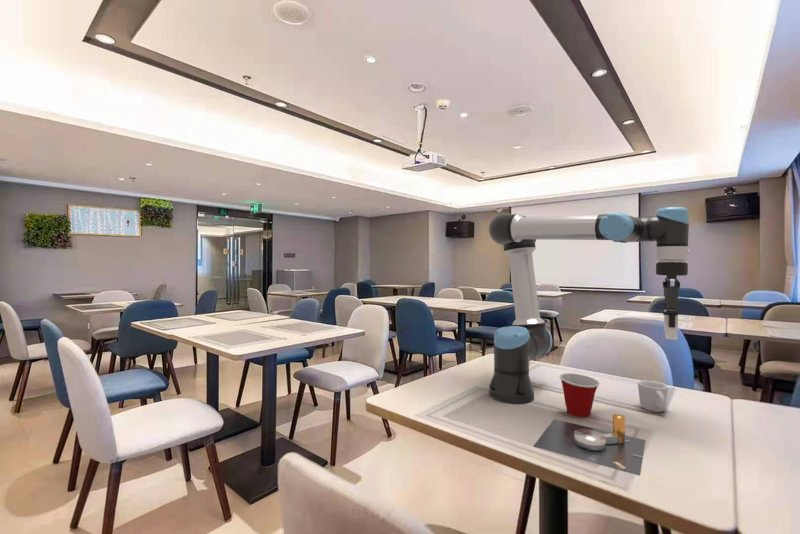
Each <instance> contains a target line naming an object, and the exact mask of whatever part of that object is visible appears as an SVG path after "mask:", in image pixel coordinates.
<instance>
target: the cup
mask: <svg viewBox="0 0 800 534" xmlns="http://www.w3.org/2000/svg"><path fill="white" fill-rule="evenodd" d="M637 387H638V389H637V390H638V396H639V397H638V398H639V405H640V407H641V408H642V409H644V410H645V411H649V412H654V413H660V412H663V411H665V410H666V407H667V399H668V392H669V386H668V385H667V384H666V383H662V382H659V381H657V380H656V381H655V380H645V379H644V380H638V382H637Z"/></svg>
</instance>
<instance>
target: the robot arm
mask: <svg viewBox="0 0 800 534" xmlns="http://www.w3.org/2000/svg"><path fill="white" fill-rule="evenodd" d="M689 227H690V222H689V209H687V208H685V207H681V206H671V207H670V206H669V207H661V208H658V209H657V211H656V214H655V215H652V216H637V217H636V216H632V215H629V214H626V213H623V212H610V213H603V214H598V213H597V214H574V215H573V214H572V215H570V214H569V215H568V214H567V215H545V216H544V215H543V216H541V215H540V216H526V215H522V214H521V213H520V214H519V213H515V214H514V213H513V214H512V213H507V212H505V213H499V214H497V215H496V216H494V217H493V218H492V219H491V221H490V223H489V226H488V234H489V237H490V238H491V239H492V241H493V242H495V243H496V244H499V245H502V247H503V253H504V254H505V255H507V257H508V264H509V270H510V279H511V287H512V294H513V295H512V297H513V303H514V304H513V306H514V314H515V320H513V322H512V325H510V326H502V327H499V328H498V329H496V330H495V331H494V336H493V337H494V338H493V374H492V375H493V376H492V377H491V379H490V384H489V387H488V395H489V394H490V395H489V397H490V398H492V397H493V398H492V399H494V398H495V399H494V400H496V399H497V400H496V401H499V402H502V401H503V402H504V403H508V404H509V403H510V404H526V403H531V402H532V401H535V390H534V387H533V384H532V380H531V377H530V362H531V361H534V360H538V359H541V358H543V357H545V356H546V355H547V354H548V353H550V352H551V349H552V348H553V337H552V334H551V332H550V331H549V330H548V329H547V328H546V322H545V320H544V319H543V318H541V315H540V314H541V313H540V307H539V299H538V292H537V291H538V289H537V281H536V276H535V275H536V274H535V268H534V266H535V265H534V259H533V253H534V252H535V250H536V249H537V248H536V246H537V245H536V242H537V240H553V241H555V240H562V241H563V240H564V241H565V240H567V241H568V240H569V241H571V240H573V241H577V240H578V241H582V240H583V241H585V240H586V241H589V240H590V241H612V242H614V243H621V244H622V243H623V244H626V243H637V242H638V243H640V242H641V243H642V242H646V243H647V242H655V244H656V246H655V260H656V261H657V262H656V263H655V274H656V275H657V276H666V277H665V278H664V281H662V289H663V294H664V304H663V306H664V307H663V308H664V310H663V312H662V315H663V332H664V333H665V334H664V335H665V336H664V337H665V339H666V340H675V341H677V340H678V336H679V335H678V334H679V333H678V329H679V316H678V315H679V313H680V311H679V296H680V288H681V282H680V281H679V279H678V278H677V276H681V277H682V276H683V277H684V276H687V275H688V273H689V269H688V268H689V264H688V263H687V262H686V261H688V258H689V257H688V256H689V255H688V254H691V250H690V249H689V233H690V232H689V229H690V228H689Z"/></svg>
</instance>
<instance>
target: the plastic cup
mask: <svg viewBox="0 0 800 534" xmlns="http://www.w3.org/2000/svg"><path fill="white" fill-rule="evenodd" d="M559 378H560V381H561V386H562V391H563V397H564V404H565V408H566V413H567V414H569V415H570V416H573V417H576V418H577V417H578V418H588V417H591V413H592V409H593V406H594V400H595V399H594V398H595V394H596V391H597V389H598V387H599V386H600V384H601V383H600V381H599V380H597V379H596V378H595V377H590V376H588V375H584V374H582V373H581V374H579V373H572V372H571V373H570V372H569V373H568V372H566V373H561V374H560V375H559Z"/></svg>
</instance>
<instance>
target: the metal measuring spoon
mask: <svg viewBox="0 0 800 534" xmlns="http://www.w3.org/2000/svg"><path fill="white" fill-rule="evenodd" d="M612 432H613V433H609V434H601V433H599V432H597V431H593V430H588V429H578V430H576V431H574V442H575V443H576V444H577V445H578V446H580V447H582V448H585V449H589V450H603V449H605V448H606V444H611V443H625V434H626V416H625V415H622V414H619V413H613V414H612Z"/></svg>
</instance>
